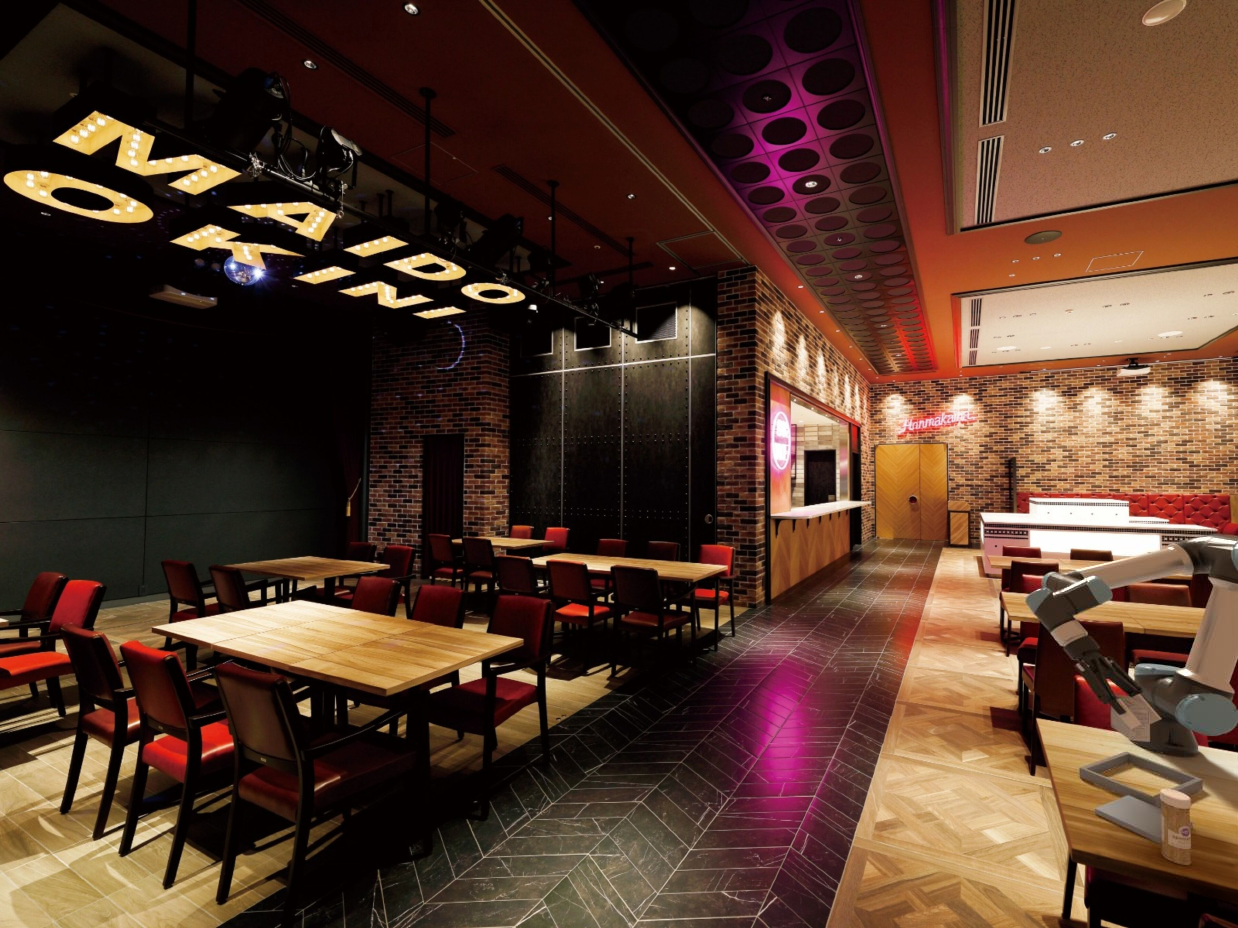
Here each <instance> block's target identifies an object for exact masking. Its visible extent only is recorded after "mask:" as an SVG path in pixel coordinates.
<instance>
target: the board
mask: <svg viewBox="0 0 1238 928" xmlns="http://www.w3.org/2000/svg"><path fill="white" fill-rule="evenodd" d="M1094 814H1095V815H1097V816H1100V817H1102V818H1104V819H1105V820H1108V821H1110V822H1112V823H1115V824H1117V825H1118V826H1121V827H1123V828H1125V829H1127V830H1130V831H1132V832H1134V833H1135V834H1138V835H1139V836H1142V837H1145V838H1147V839H1148V840H1150V841H1153V842H1155V843H1157V844H1162V838H1161V808H1158V807H1155V806H1153V805H1151V804H1148V803H1146V802H1144V801H1141V800H1139V799H1136V798H1134V797H1132V796H1129V795H1127V796H1122V797H1120V798H1118V799H1117V798H1116V799H1115V800H1113V801H1110V802H1107V803H1105V804H1102V805H1100V806H1097V807H1095V808H1094ZM1193 826H1194V822H1193V821H1191V820H1190V830H1191V829H1192V828H1193Z"/></svg>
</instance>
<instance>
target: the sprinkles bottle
mask: <svg viewBox="0 0 1238 928" xmlns="http://www.w3.org/2000/svg"><path fill="white" fill-rule="evenodd" d="M1159 793H1160V799H1161V806H1162V807H1161V808H1160V809H1161V838H1162V843H1161V855H1162V857H1164V858H1165V859H1166V860H1168V861H1170V862H1172V863H1174V864H1178V865H1180V866H1181V865H1182V866H1190V865H1191V864H1192V860H1191V858H1192V857H1191V849H1192V844H1191V843H1192V841H1191V840H1192V839H1191V836H1192V835H1191V834H1192V833H1191V829H1190V821H1191V819H1190V817H1191V815H1190V810H1191V807H1192V804H1191V803H1192V801H1191V798H1190V796H1187V795H1186V794H1184V793H1181V792H1179V791H1176V790H1172V789H1171V788H1162V789H1160V791H1159Z"/></svg>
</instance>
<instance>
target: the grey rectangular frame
mask: <svg viewBox="0 0 1238 928" xmlns="http://www.w3.org/2000/svg"><path fill="white" fill-rule="evenodd" d="M1126 763H1127V764H1130V765H1133V766H1136V767H1139V768H1141V769H1143V770H1146V771H1149V770H1150V771H1149V772H1151V771H1152V773H1154V774H1157V775H1159V774H1160V775H1159V776H1162V777H1165V778H1167V777H1168V779H1171V780H1173V781H1175V782H1178V783H1180V784H1179V785H1176V786H1174V787H1172V788H1170V789H1172V790H1176V791H1179V792H1181V793H1184V794H1186V795H1187V796H1188V797H1190V796H1191V795H1193V794H1196V793H1198V792H1200V791H1202V790H1204V786H1203V785H1204V780H1203V779H1202V778H1200V777H1198V776H1197V777H1196V776H1194V775H1191V774H1188V773H1186V772H1183V771H1181V770H1178V769H1175V768H1172V767H1170V766H1166V765H1165V764H1161V763H1159V762H1155V761H1153V760H1150V759H1148V758H1145V757H1142V756H1141V755H1140V756H1139V755H1137V754H1134V753H1131V752H1129V751H1123V752H1121V753H1117V754H1114V755H1112V756H1109V757H1106V758H1104V759H1101V760H1097V761H1095V762H1092V763H1089V764H1086V765H1083V766H1081V767H1079V771H1078V772H1079V778H1081V779H1083V780H1085V781H1088V782H1090V783H1091V784H1092V783H1093V784H1094V785H1096V786H1099V787H1101V788H1103V789H1106V790H1108V789H1109V790H1108V791H1110V792H1113V791H1114V792H1113V793H1115V792H1116V794H1118V795H1120V796H1122V797H1124V796H1127V795H1129V796H1132V797H1134V798H1136V799H1139V800H1141V801H1144V802H1146V803H1148V804H1151V805H1153V806H1155V807H1158V808H1160V809H1161V807H1162V806H1161V799H1160V792H1159V793H1157V794H1154V795H1151V794H1148V793H1146V792H1143V791H1142V790H1139V789H1136V788H1134V787H1132V786H1129V785H1127V784H1124V783H1122V782H1119V781H1116V780H1115V779H1113V778H1110V777H1107V776H1105V775H1102V774H1101V773H1104V771H1105V772H1107V770H1108V771H1110V770H1112V768H1113V769H1115V768H1114V767H1116V768H1118V766H1119V767H1121V766H1124V765H1127V764H1126ZM1109 769H1110V770H1109Z"/></svg>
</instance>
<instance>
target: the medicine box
mask: <svg viewBox="0 0 1238 928" xmlns="http://www.w3.org/2000/svg"><path fill="white" fill-rule="evenodd" d="M1115 696H1116V698H1117V699H1121V700H1122V701H1123V703H1124V704H1125V705H1126V706H1127V707H1128V709H1129V710H1130V711H1131V712H1132V713H1133V714H1134V716H1135V717H1136V718H1137V719H1138V720H1139V722H1140V723H1141V724H1142V725H1139V726H1137V727H1135V728H1133V729H1130V728H1129V727H1128V725H1127V724H1126V723H1125V722H1124V721H1123V719H1122V718H1121V717H1120V716H1119V715H1118V713H1117V712H1116V711H1115V710H1114V709H1113V707H1112V706H1111V705H1110V727H1111V728H1112V729H1114V730H1115V731H1116V732H1118V733H1119V734H1121V735H1122V736H1124V737H1125V738H1126V739H1128V740H1129V741H1131V740H1134V741H1144V742H1150V708H1149V707H1147V706H1145V705H1144V704H1142V703H1140V702H1139V701H1137V700H1135V699H1134V698H1132V697H1130V696H1129V695H1122V694H1115ZM1117 699H1116V700H1117Z"/></svg>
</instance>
